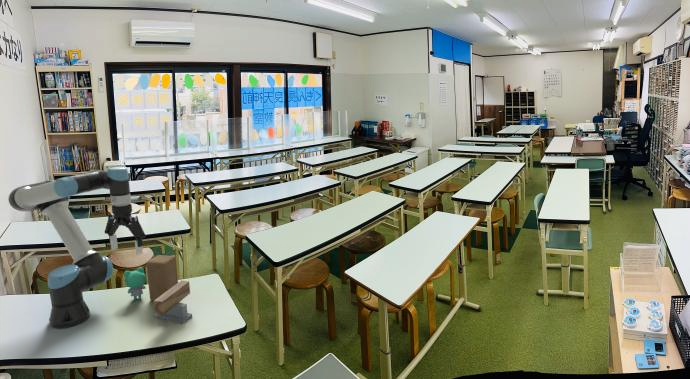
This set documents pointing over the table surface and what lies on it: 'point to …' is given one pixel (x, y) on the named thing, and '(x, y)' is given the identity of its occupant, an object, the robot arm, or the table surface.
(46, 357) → the table surface
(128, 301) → the table surface
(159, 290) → the wooden block
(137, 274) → the toy
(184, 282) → the beam
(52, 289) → the robot arm
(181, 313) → the ridge stand
